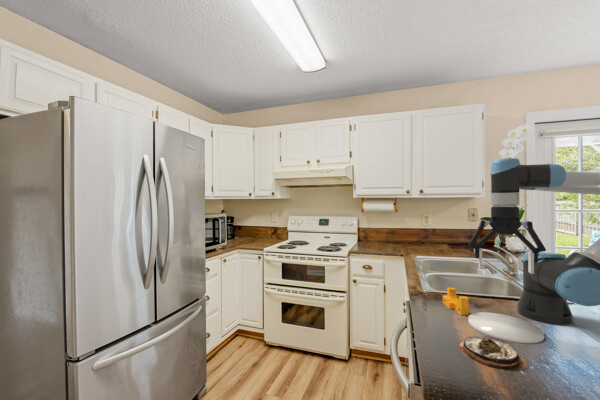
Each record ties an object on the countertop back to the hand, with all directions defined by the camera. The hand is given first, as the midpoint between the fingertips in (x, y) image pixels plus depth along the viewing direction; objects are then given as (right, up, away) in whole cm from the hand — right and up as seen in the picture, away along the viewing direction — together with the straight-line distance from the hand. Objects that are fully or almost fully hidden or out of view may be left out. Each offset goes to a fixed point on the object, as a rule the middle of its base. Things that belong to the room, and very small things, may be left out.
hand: (504, 270), depth 90 cm
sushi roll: (-10, -22, -17) cm, 30 cm away
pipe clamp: (-7, -20, +16) cm, 27 cm away
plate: (0, -19, 0) cm, 19 cm away
